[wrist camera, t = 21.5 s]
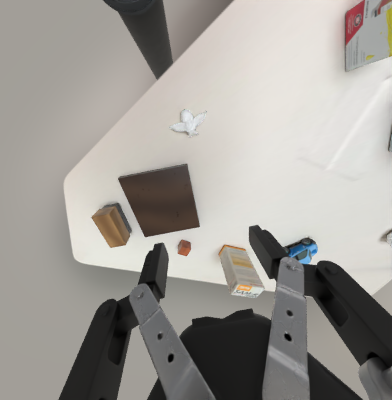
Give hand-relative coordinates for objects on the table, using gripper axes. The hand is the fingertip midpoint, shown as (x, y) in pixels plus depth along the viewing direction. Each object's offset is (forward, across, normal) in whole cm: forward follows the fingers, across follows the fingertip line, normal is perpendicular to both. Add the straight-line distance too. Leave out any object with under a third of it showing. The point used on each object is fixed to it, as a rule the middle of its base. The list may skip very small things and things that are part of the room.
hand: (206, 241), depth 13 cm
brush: (+23, +22, +9) cm, 33 cm away
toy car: (+23, -30, +34) cm, 51 cm away
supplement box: (+23, -8, +30) cm, 39 cm away
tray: (+23, +9, +7) cm, 26 cm away
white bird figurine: (+23, -1, -10) cm, 25 cm away
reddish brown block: (+22, +6, +24) cm, 32 cm away
